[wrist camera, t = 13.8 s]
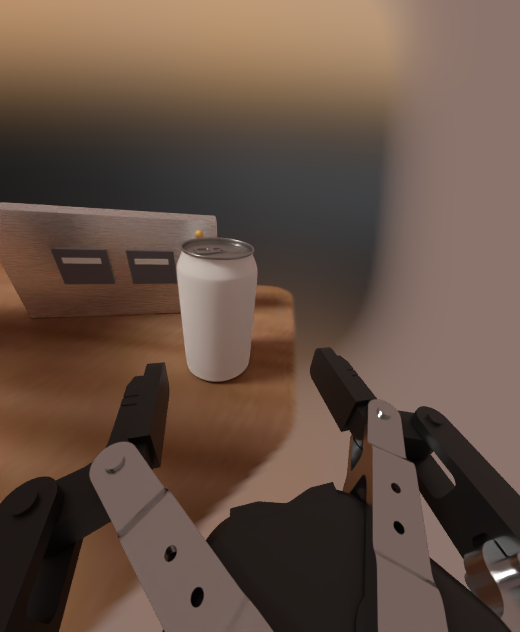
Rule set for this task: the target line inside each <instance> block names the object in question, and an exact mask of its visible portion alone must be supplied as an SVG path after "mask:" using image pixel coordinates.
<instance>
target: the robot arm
mask: <svg viewBox="0 0 520 632" xmlns="http://www.w3.org/2000/svg"><path fill="white" fill-rule="evenodd" d="M310 374H311V378H312V380H313V382H314V383H315V385H316V387H317V389H318V391H319V393H320V394H321V396H322V398H323V400H324V402H325V403H326V405H327V407H328V409H329V411H330V412H331V414H332V416H333V418H334V419H335V422H336V423H337V425H338V427H339V429H340V431H341V432H343V431H347V430H350V432H351V434H352V435H351V437H350V447H349V458H348V469H347V477H346V480H345V484H344V487H343V491H339V490H336V488H335V486H334V484H333V482H331V483H327V484H323V485H320V486H315V487H311V488H309V489H307V490H306V491H305V492H303V493H302V494H300V495H299V496H297V497H296V498H295V499H293V500H291V501H290V502H288V503H273V502H254V503H250V504H246V505H242V506H238V507H235V508H231V509H230V517H229V518H227V519H225V520H224V521H223V522H222V523H220V524H219V525H218V526H217V527H216V528H215V529H214V530H213V532H212V533H211V534H210V535H209V537H208V538H207V540H205V539H204V538H203V536H202V535H201V533H200V532H199V531H198V529H197V528H196V527H195V525H194V524H193V522H192V521H191V520H190V518H189V517H188V515H187V514H186V513H185V511H184V510H183V508H182V507H181V506H180V504H179V503H178V501H177V500H176V499H175V497H174V496H173V495H172V493H171V492H170V491H169V490H168V489H166V488H165V487H164V486H163V485H162V484H161V482H160V481H159V479H158V478H157V477H156V475H155V474H154V472H153V471H152V469H153V468H158V467H160V465H161V457H162V449H163V441H164V433H165V425H166V417H167V409H168V401H169V382H168V377H167V372H166V366H165V363H164V362H163V363H153V364H147V366H146V369H145V373H144V376H136V377H134V378H133V379H132V381H131V382H130V383H129V384H128V385H127V387H126V390H125V393H124V396H123V397H124V398H123V399H122V402H121V407H120V409H119V412H118V415H117V418H116V421H115V424H114V427H113V430H112V433H111V436H110V439H109V442H108V444H107V446H106V448H105V449H104V450H103V451H102V452H101V453H100V454H99V455H98V456H97V457H96V458H95V460H94V461H93V462H92V463H90V464H89V465H87V466H85V467H84V468H82V469H80V470H77V471H75V472H73V473H71V474H69V475H67V476H65V477H62V478H60V479H58V480H56V481H55V480H54V479H53V478H51V477H38V478H35V479H32V480H30V481H27V482H26V483H24V484H22V485H21V486H19V487H17V488H16V489H15V490H14V491H12V492H11V493H10V494H9V495H8V496H7V497H6V498H5V499H4V500H3V501H2V502H1V504H0V632H59V629H60V625H61V621H62V618H63V614H64V610H65V606H66V602H67V598H68V595H69V591H70V587H71V583H72V579H73V575H74V572H75V568H76V564H77V560H78V556H79V552H80V549H81V545H82V541H83V538H84V537H85V536H87V535H89V534H90V533H92V532H94V531H96V530H97V529H99V528H101V527H102V526H104V525H106V524H107V523H109V522H111V521H112V523H113V525H114V527H115V529H116V531H117V534H118V538H119V540H120V543H121V545H122V547H123V549H124V551H125V553H126V555H127V557H128V559H129V561H130V563H131V565H132V567H133V569H134V571H135V573H136V575H137V577H138V579H139V581H140V583H141V585H142V587H143V589H144V591H145V593H146V595H147V597H148V599H149V601H150V603H151V605H152V607H153V609H154V611H155V613H156V615H157V617H158V619H159V621H160V623H161V625H162V627H163V629H164V630H163V632H520V496H519V494H518V493H516V491H515V490H514V489H513V488H512V487H511V486H510V485H509V484H508V483H507V482H506V481H505V480H504V479H503V477H501V476H500V474H499V473H498V472H497V471H496V470H495V469H494V468H493V467H492V466H491V465H490V464H489V463H488V462H487V461H486V460H485V459H484V457H483V456H482V455H481V454H480V453H479V452H478V451H477V450H476V449H475V448H474V447H473V446H472V445H471V444H470V443H469V442H468V440H466V438H465V437H464V436H463V435H462V434H461V433H460V432H459V431H458V430H457V429H456V428H455V427H454V426H453V425H452V424H451V423H450V422H449V420H448V419H447V418H446V417H445V416H444V415H442V414H441V413H440V412H438V411H436V410H435V409H432V408H429V407H425V406H422V407H419V408H418V409H417V410H416V411H415V413H411V412H403V411H398V410H396V409H395V408H394V407H393V406H392V405H391V404H389V403H387V402H386V401H383V400H379V399H377V398H376V397H375V396H374V394H373V393H372V392H371V390H370V389H369V388H368V387H367V385H366V384H365V383H364V382H363V380H362V379H361V378H360V377H359V376H358V374H357V373H356V371H355V370H353V368H352V366H351V365H350V364H349V363H348V361H346V360H345V359H344V358H342V357H341V356H337V355H336V354H335V353H334V351H333V350H332V349H331V348H329V347H328V348H317V349H316V350H315V353H314V356H313V360H312V364H311V367H310ZM433 451H434V452H435V453H436V455H437V456H438V457H439V459H440V460H441V461H442V462H443V464H444V465H445V466H446V467H447V469H448V470H449V471H450V472H451V474H452V475H453V477H454V479H455V483H456V485H455V486H454V484H453V483H452V482H451V481H450V479H449V478H448V477H447V476H446V474H445V473H444V471H443V470H442V469H441V467H440V466H439V465H438V464H437V462H436V461H435V460H434V458H433V457H432V456H431V453H432V452H433ZM419 491H420V493H421V494H422V495H423V497H424V499H425V500H426V502H427V503H428V505H429V506H430V508H431V510H432V511H433V513H434V514H435V516H436V517H437V519H438V520H439V522H440V524H441V525H442V527H443V528H444V530H445V531H446V533H447V534H448V536H449V537H450V539H451V540H452V542H453V544H454V545H455V547H456V548H457V550H458V551H459V553H460V554H461V556H462V558H463V559H464V565H465V570H466V574H465V581H466V584H467V586H468V587H469V589H470V590H471V591H472V592H471V591H469V590H468V589H467V588H466V587H465V586H464V585H462V584H461V583H460V582H459V581H458V580H456V579H455V578H454V577H453V576H452V575H450V574H449V573H448V572H447V571H445V570H444V569H443V568H442V567H441V566H440V565H438V564H437V563H436V562H435V561H434V560H432V559H431V558H430V557H429V552H428V546H427V539H426V533H425V526H424V520H423V514H422V507H421V500H420V494H419ZM474 594H475V595H476V596H475V595H474Z"/></svg>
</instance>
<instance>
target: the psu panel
mask: <svg viewBox="0 0 520 632" xmlns="http://www.w3.org/2000/svg"><path fill="white" fill-rule="evenodd" d="M205 237H216V238H217V221H216V218H215V216H207V215H192V214H176V213H161V212H145V211H128V210H112V209H97V208H82V207H66V206H50V205H33V204H18V203H0V262H1V264H2V266H3V268H4V269H5V271H6V273H7V275H8V277H9V279H10V281H11V282H12V284H13V286H14V288H15V290H16V292H17V293H18V295H19V297H20V299H21V301H22V303H23V304H24V306H25V308H26V310H27V312H28V314H29V315H30V317H31V318H50V317H77V316H105V315H132V314H160V313H181V308H180V299H179V289H178V280H177V262H178V260H179V257H180V255H181V251H182V250H181V249H180V245H181V243H182V242H184V241H186V240H190V239H195V238H205Z"/></svg>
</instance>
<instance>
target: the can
mask: <svg viewBox="0 0 520 632" xmlns="http://www.w3.org/2000/svg"><path fill="white" fill-rule="evenodd" d="M180 249H181V250H182V251H181V255H180V257H179V260H178V262H177V280H178V289H179V299H180V308H181V317H182V326H183V335H184V344H185V352H186V360H187V365H188V368H189V370H190V371H191V372H192V373H193V374H194V375H195V376H197V377H199V378H201V379H203V380H206V381H211V382H222V381H227V380H230V379H233V378H235V377H237V376H238V375H240V374H241V373H242V372H243V371H244V370H245V369H246V368H247V366H248V363H249V358H250V349H251V339H252V328H253V318H254V307H255V296H256V284H257V265H256V262H255V260H254V257H253V252H254V248H253V247H252V246H251V245H250V244H248V243H245V242H242V241H238V240H234V239H227V238H216V237H205V238H195V239H190V240H186V241H184V242H182V243H181V245H180Z"/></svg>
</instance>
